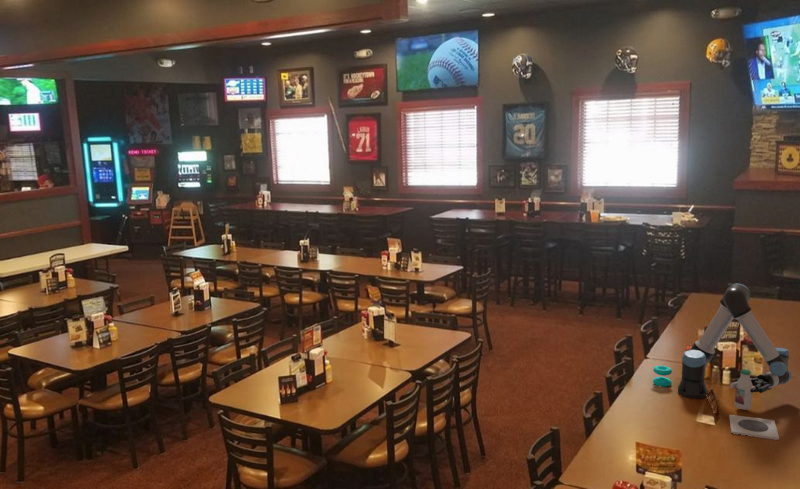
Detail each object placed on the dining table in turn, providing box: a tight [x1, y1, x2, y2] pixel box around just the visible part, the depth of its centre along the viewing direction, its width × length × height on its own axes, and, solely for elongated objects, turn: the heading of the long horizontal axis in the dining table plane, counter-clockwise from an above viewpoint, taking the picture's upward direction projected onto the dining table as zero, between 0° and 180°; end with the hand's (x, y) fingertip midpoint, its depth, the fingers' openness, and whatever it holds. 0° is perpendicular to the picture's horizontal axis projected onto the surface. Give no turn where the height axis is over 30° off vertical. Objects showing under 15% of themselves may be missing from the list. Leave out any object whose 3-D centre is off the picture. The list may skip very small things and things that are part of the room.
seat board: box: [728, 414, 780, 441], centre depth 322 cm, size 20×20×1 cm
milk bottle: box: [734, 369, 754, 411], centre depth 340 cm, size 8×8×20 cm
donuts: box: [652, 365, 673, 388], centre depth 379 cm, size 10×10×10 cm
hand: (738, 388), depth 338 cm, fingers closed on milk bottle, 8 cm apart
